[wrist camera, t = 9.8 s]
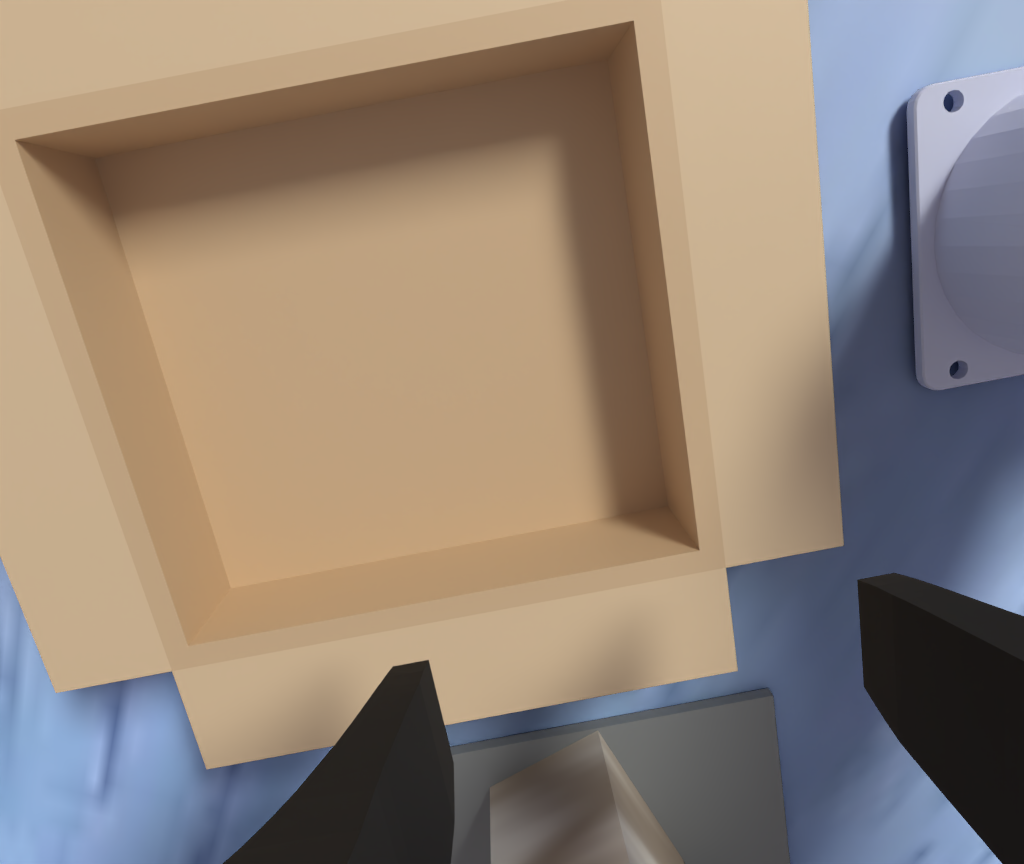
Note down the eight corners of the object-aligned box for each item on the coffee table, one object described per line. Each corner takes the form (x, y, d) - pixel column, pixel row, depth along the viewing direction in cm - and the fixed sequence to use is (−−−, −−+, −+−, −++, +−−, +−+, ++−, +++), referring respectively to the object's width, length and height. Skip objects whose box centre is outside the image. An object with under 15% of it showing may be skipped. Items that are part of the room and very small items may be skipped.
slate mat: (768, 687, 23) (773, 695, 22) (792, 926, 25) (797, 937, 25) (402, 755, 23) (400, 764, 22) (463, 987, 25) (463, 998, 25)
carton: (730, -127, 17) (792, -222, 14) (793, 587, 22) (850, 649, 18) (-92, 32, 17) (-234, -22, 14) (154, 706, 22) (95, 790, 19)
